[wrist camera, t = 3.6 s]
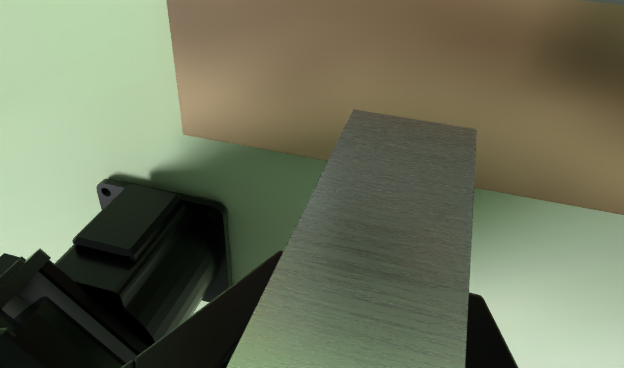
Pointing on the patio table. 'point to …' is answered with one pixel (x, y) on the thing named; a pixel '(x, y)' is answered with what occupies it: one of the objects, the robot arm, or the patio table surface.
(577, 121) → the chuck stand
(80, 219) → the patio table surface
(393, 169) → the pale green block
